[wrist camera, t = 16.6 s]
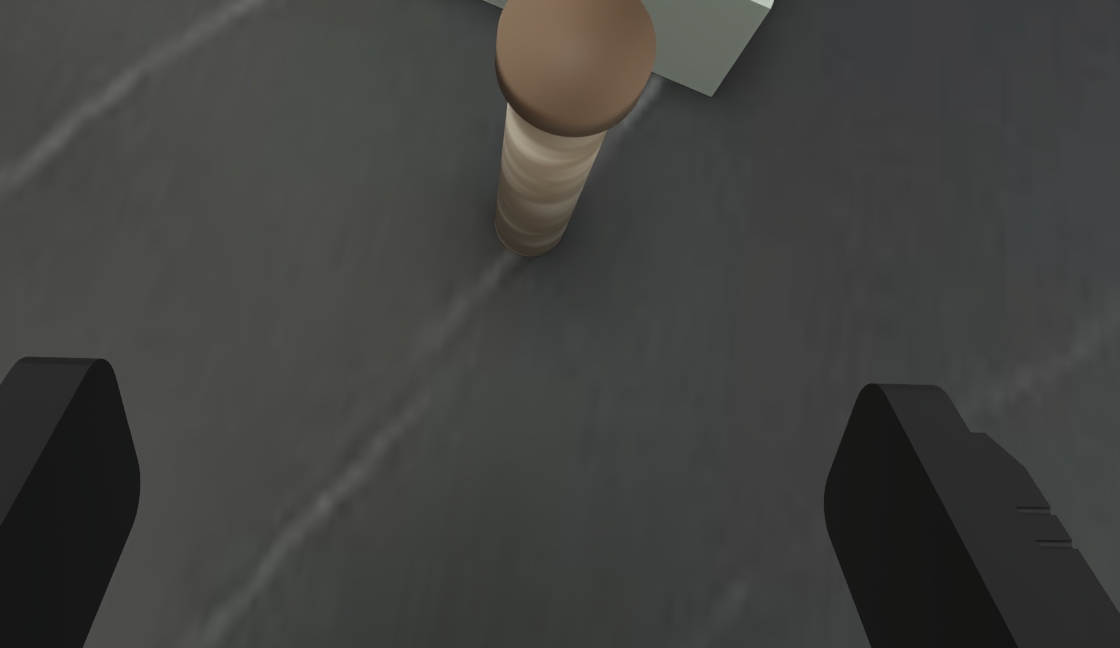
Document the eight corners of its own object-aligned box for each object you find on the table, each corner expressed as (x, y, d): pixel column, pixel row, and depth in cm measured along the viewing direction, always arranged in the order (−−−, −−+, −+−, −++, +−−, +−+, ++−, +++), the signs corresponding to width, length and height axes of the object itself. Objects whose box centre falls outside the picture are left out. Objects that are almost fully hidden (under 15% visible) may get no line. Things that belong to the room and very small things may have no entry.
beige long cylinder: (469, 245, 43) (471, 79, 24) (504, 164, 44) (532, -59, 25) (555, 281, 43) (622, 142, 25) (589, 199, 44) (678, 4, 25)
